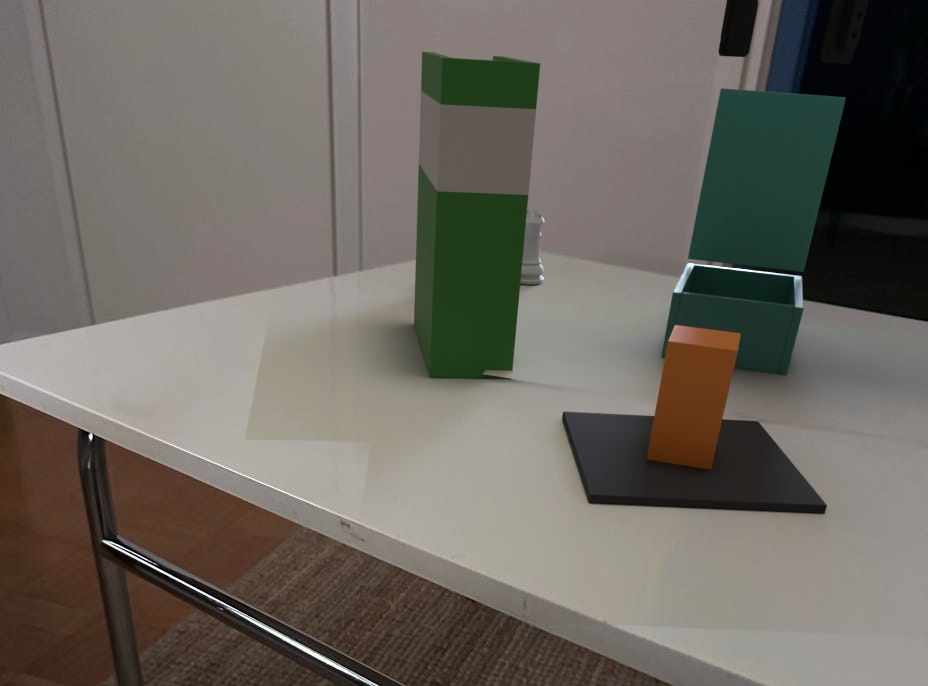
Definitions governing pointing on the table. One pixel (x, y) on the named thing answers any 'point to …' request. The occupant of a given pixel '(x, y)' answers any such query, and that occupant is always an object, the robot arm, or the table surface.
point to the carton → (692, 396)
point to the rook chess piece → (532, 250)
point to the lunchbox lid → (764, 178)
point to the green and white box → (472, 210)
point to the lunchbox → (741, 312)
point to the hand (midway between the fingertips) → (782, 59)
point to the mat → (686, 468)
